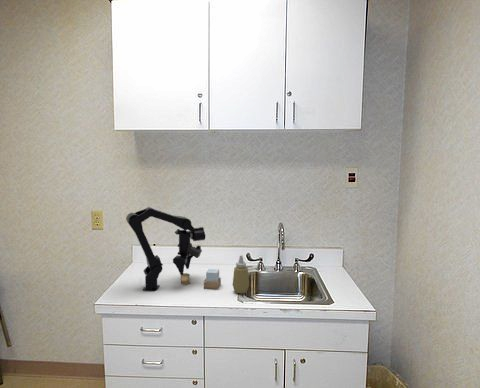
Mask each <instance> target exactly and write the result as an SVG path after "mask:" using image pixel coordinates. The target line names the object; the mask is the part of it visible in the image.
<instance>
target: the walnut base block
mask: <svg viewBox="0 0 480 388" xmlns="http://www.w3.org/2000/svg"><path fill="white" fill-rule="evenodd" d="M221 284H222V278H221V277H219V279H218V281H217V282H210V281H206V278H205V279H204V281H203V289H205V290H217V291H218V290H219V288H220V287H221Z"/></svg>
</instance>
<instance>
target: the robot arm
mask: <svg viewBox="0 0 480 388" xmlns="http://www.w3.org/2000/svg"><path fill="white" fill-rule="evenodd" d="M151 217H152V218H155V219H158V220H160V221H161V220H162V221H165V222H168V223H169V224H173V225H174V226H176V227H179V228H180V229H179V228H177V229H176V230H175V231H174V234H176V235H177V236H178V244H177V247H178V252H177V255H176V256H174V257H173V258H172V263H173V264H174V265H175V267H176V269H177V270H178V272H179V274H180V276H181V275H183V273H184V271H185V269H187V270H189V269H190V265H191V260H192V258H195V259H197V258H198V259H199V257H200V256H201V253H202V251H203V250H202V248H201V246H202V245H197V246H193V244H192V243H191V240H192V242H199V241H205V239H206V233H205V227H203V226H200V227H194V226H193V225H192V221H191V219H189V218H188V217H186V216H180V215H173V214H170V213H167V212H164V211H162V210H158V209H154V208H153V207H151V206H148V207H146V208H144V209H141V210H138V211H135V212H130V213H128V214H127V215H126V218H125V220H126V223H127V224H128V225H129V227H130V228H131V229H132V231H133V232H134V235H135V236H136V239H137V241H138V242H139V245H140V246H141V249H142V252H143V254H144V256H145V259H146V264H147V266H146V267H145V268H144V269H143V273H144V275H145V276H144V277H145V278H144V282H145V284H144V285H145V287H143V288H142V291H147V292H150V291H151V292H152V291H153V292H155V291H157V290H158V289H159V288H160V287H161V285H159V284H158V279H159V275H160V274H161V272H162V271H163V266H164V264H163V263H162V261H161V257H159V256H158V254H157V255H155V254H154V251H153V249H152V247H151V246H150V243H149V241H148V238H147V237H146V234H145V232H144V230H143V229H144V228H143V222H145V221H146V220H148V219H149V218H151Z"/></svg>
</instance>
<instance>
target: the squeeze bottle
mask: <svg viewBox="0 0 480 388" xmlns="http://www.w3.org/2000/svg"><path fill="white" fill-rule="evenodd" d="M235 264H236V266H234V269H233V276H232V287H233V290H234V293H236V294H238V293H242V294H241V295H243V294H247V292H248V289H249V287H250V281H249V280H250V277H249V268H248V267H247V263H246V262H244V257H243V255H239V259H238V262H236V263H235Z"/></svg>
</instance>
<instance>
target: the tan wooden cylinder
mask: <svg viewBox="0 0 480 388" xmlns="http://www.w3.org/2000/svg"><path fill="white" fill-rule="evenodd" d="M190 276H191V275H190V273H188V272H185V273H184V272H183V275H181V274H180V285H181V286H182V285H183V286H185V285H186V286H187V285H189V284H190V283H191V280H190V279H191V278H190Z"/></svg>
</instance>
